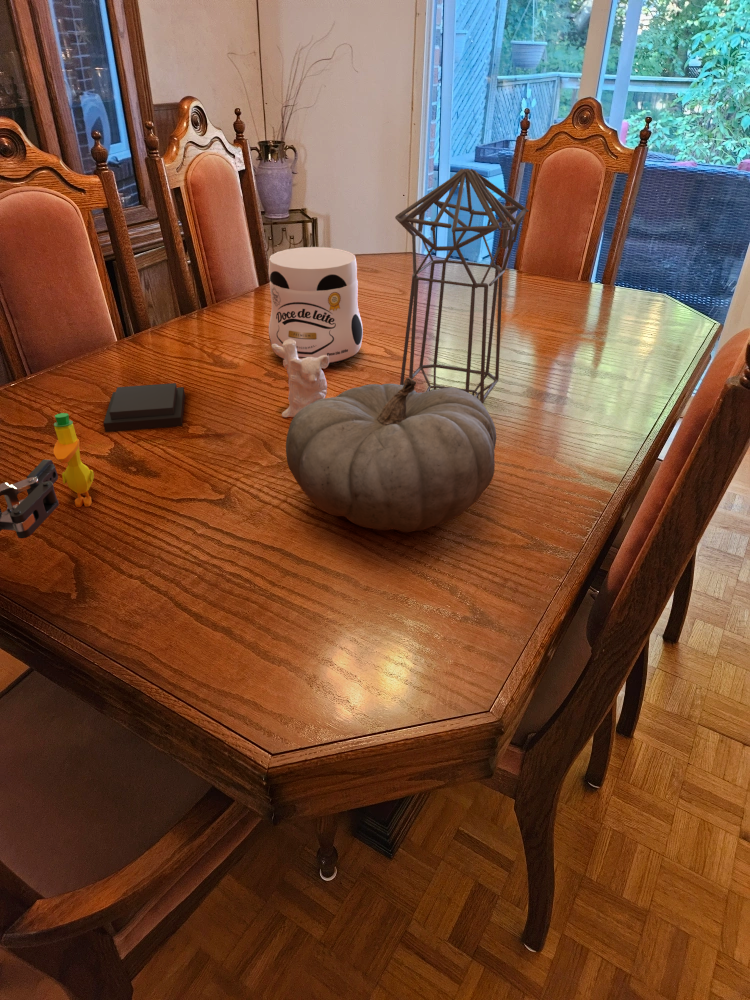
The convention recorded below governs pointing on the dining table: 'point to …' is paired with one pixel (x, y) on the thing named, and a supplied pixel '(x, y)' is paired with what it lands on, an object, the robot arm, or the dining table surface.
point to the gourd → (393, 454)
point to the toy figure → (72, 459)
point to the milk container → (315, 302)
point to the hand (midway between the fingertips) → (11, 465)
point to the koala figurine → (302, 377)
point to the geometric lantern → (484, 197)
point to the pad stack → (145, 407)
